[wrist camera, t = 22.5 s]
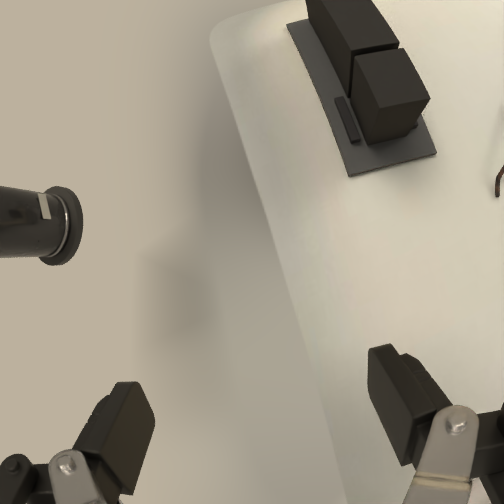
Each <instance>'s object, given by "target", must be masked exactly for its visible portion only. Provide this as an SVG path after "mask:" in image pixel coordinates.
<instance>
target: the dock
mask: <svg viewBox="0 0 504 504" xmlns="http://www.w3.org/2000/svg"><path fill="white" fill-rule="evenodd" d="M306 6H307V11H308V17H309V19H305V20H301V21H297V22H293V23H289V24H286V26H287V28H288V30H289V32H290V34H291V36H292V38H293V40H294V42H295V44H296V47H297V49H298V51H299V53H300V55H301V57H302V59H303V61H304V64H305V66H306V68H307V70H308V73H309V75H310V77H311V79H312V82H313V84H314V86H315V89H316V91H317V93H318V96H319V98H320V101H321V103H322V106H323V108H324V110H325V113H326V116H327V118H328V121H329V123H330V126H331V128H332V131H333V134H334V136H335V139H336V142H337V145H338V147H339V150H340V153H341V156H342V159H343V162H344V164H345V167H346V170H347V173H348V176H352V175H356V174H360V173H364V172H367V171H371V170H375V169H379V168H382V167H386V166H390V165H394V164H398V163H402V162H406V161H410V160H414V159H418V158H422V157H426V156H430V155H435V154H436V153H437V152H436V149H435V146H434V144H433V141H432V139H431V136H430V134H429V131H428V129H427V127H426V124H425V122H424V120H423V117H422V115H420V116H419V118H418V119H417V121H416V122H415V124H414V126H413V127H412V129H411V130H410V132H409V133H408V135H407V136H406V137H401V138H397V139H393V140H389V141H385V142H380V143H376V144H372V145H368V146H367V144H366V142H365V139H364V136H363V134H362V131H361V129H360V126H359V124H358V121H357V119H356V116H355V114H354V111H353V109H352V107H351V104H350V99H351V90H352V80H353V68H354V56H358V55H363V54H369V53H374V52H380V51H386V50H393V49H398V46H399V43H400V42H399V40H398V39H397V37H396V36H395V34H394V33H393V31H392V29H391V28H390V26H389V25H388V23H387V22H386V20H385V19H384V17H383V16H382V15H381V13H380V12H379V10H378V9H377V8H376V6H375V5H374V3H373V2H372V1H371V0H306Z"/></svg>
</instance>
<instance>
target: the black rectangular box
mask: <svg viewBox="0 0 504 504" xmlns="http://www.w3.org/2000/svg"><path fill="white" fill-rule="evenodd" d="M430 99H431V98H430V96H429V94H428V92H427V90H426V88H425V86H424V84H423V82H422V80H421V78H420V76H419V74H418V73H417V71H416V69H415V67H414V65H413V63H412V62H411V60H410V58H409V56H408V55H407V53H406V51H405V50H404V48H400V49H393V50H386V51H380V52H374V53H369V54H363V55H358V56H354V68H353V80H352V90H351V99H350V104H351V107H352V109H353V111H354V114H355V116H356V119H357V121H358V124H359V126H360V129H361V131H362V134H363V136H364V139H365V142H366V144H367V146H368V145H372V144H376V143H380V142H385V141H389V140H393V139H397V138H401V137H406V136H407V135H408V133H409V132H410V130H411V129H412V127H413V126H414V124H415V122H416V121H417V119H418V118H419V116H420V115H421V113H422V111H423V110H424V108H425V107H426V105H427V103H428V102H429V100H430Z"/></svg>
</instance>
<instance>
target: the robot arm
mask: <svg viewBox="0 0 504 504" xmlns="http://www.w3.org/2000/svg"><path fill="white" fill-rule="evenodd" d="M70 228H71V217H70V211H69V208H68V205H67V203H66V201H65V200H64V199H63V198H62V197H61V196H59V195H56V194H46V193H40V192H35V191H29V190H22V189H16V188H10V187H4V186H0V258H11V257H55V256H57V255H58V254H60V253H61V252H62V250H63V249H64V248H65V246H66V244H67V241H68V238H69V234H70ZM367 384H368V392H369V396H370V399H371V401H372V403H373V405H374V408H375V410H376V412H377V414H378V416H379V418H380V420H381V423H382V425H383V427H384V429H385V431H386V433H387V436H388V438H389V440H390V442H391V444H392V447H393V449H394V451H395V453H396V456H397V458H398V460H399V462H400V465H401V467H402V466H405V465H407V464H410V463H412V464H413V466H414V468H415V470H416V473H415V475H414V477H413V480H412V482H411V485H410V487H409V489H408V492H407V494H406V496H405V499H404V501H403V503H402V504H468V500H469V497H470V493H471V487H472V483H471V482H469V479H472V478H477V477H479V478H480V480H481V482H482V484H483V486H484V488H485V490H486V492H487V494H488V496H489V499H490V501H491V503H492V504H504V403H503V405H502V408H501V410H498V411H493V412H488V413H482V414H476V413H475V412H474V411H473V410H471V409H470V408H468V407H465V406H460V405H454V406H453V404H452V403H451V402H450V401H449V399H448V398H447V396H446V395H445V394H444V392H443V391H442V390H441V389H440V387H439V386H438V385H437V383H436V382H435V381H434V379H433V378H431V375H430V374H429V373H428V372H427V371H426V370H425V368H424V366H423V365H422V364H421V363H420V361H419V360H418V359H416V358H414V357H412V356H411V355H409V354H407V353H406V354H403V355H399V354H398V352H397V351H396V349H395V348H394V347H393V345H392V344H390V343H389V344H385V345H381V346H378V347H374V348H370V349H369V351H368V381H367ZM154 427H155V417H154V413H153V411H152V409H151V407H150V405H149V402H148V401H147V398H146V396H145V394H144V392H143V390H142V387H141V385H140V384H139V383H138V382H117V383H116V384H115V386H114V388H113V390H112V391H111V393H110V395H107V396H105V397H104V398H103V399H102V400H101V401H100V402H99V403H98V404H97V405H96V407H95V409H94V410H93V412H92V415H91V416H90V417H89V419H88V423H86V425H85V426H84V428H83V430H82V431H81V433H80V435H79V437H78V439H77V440H76V442H75V444H74V446H73V448H72V449H68V450H64V451H61V452H59V453H57V454H56V455H55V456H54V457H53V458H52V459H51V460H50V462H49V464H34V465H33V464H32V463H31V462H30V460H29V459H28V458H27V457H26V456H25V455H22V454H14V455H11V456H9V457H7V458H6V459H5V460H4V461H3V462H2V464H1V465H0V504H26V503H27V504H123V503H122V502H121V500H120V499H119V496H120V494H126V495H133V493H134V490H135V486H136V483H137V480H138V477H139V474H140V470H141V467H142V464H143V461H144V458H145V455H146V452H147V449H148V446H149V443H150V440H151V437H152V434H153V431H154Z"/></svg>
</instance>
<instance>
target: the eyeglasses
mask: <svg viewBox="0 0 504 504" xmlns="http://www.w3.org/2000/svg"><path fill="white" fill-rule="evenodd" d="M503 173H504V166H503V167H502V169H501V170H500V172H499V173H498V175H497V177H496V184H495V195H496V197H499V196H500V179H501V177H502V175H503Z"/></svg>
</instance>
